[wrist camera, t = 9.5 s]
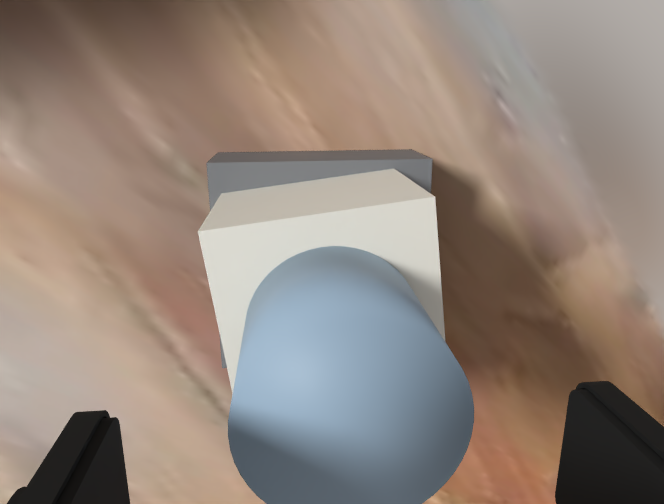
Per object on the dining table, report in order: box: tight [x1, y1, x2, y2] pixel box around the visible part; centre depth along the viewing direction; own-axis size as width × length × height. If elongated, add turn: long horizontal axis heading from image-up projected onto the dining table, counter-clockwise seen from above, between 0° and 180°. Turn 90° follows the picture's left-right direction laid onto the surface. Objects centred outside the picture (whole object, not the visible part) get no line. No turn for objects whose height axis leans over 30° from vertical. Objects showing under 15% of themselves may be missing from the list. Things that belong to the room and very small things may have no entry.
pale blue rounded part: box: [228, 246, 474, 504], centre depth 14 cm, size 6×6×5 cm
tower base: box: [207, 149, 432, 368], centre depth 24 cm, size 9×9×4 cm
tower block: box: [198, 169, 445, 393], centre depth 19 cm, size 7×7×6 cm
